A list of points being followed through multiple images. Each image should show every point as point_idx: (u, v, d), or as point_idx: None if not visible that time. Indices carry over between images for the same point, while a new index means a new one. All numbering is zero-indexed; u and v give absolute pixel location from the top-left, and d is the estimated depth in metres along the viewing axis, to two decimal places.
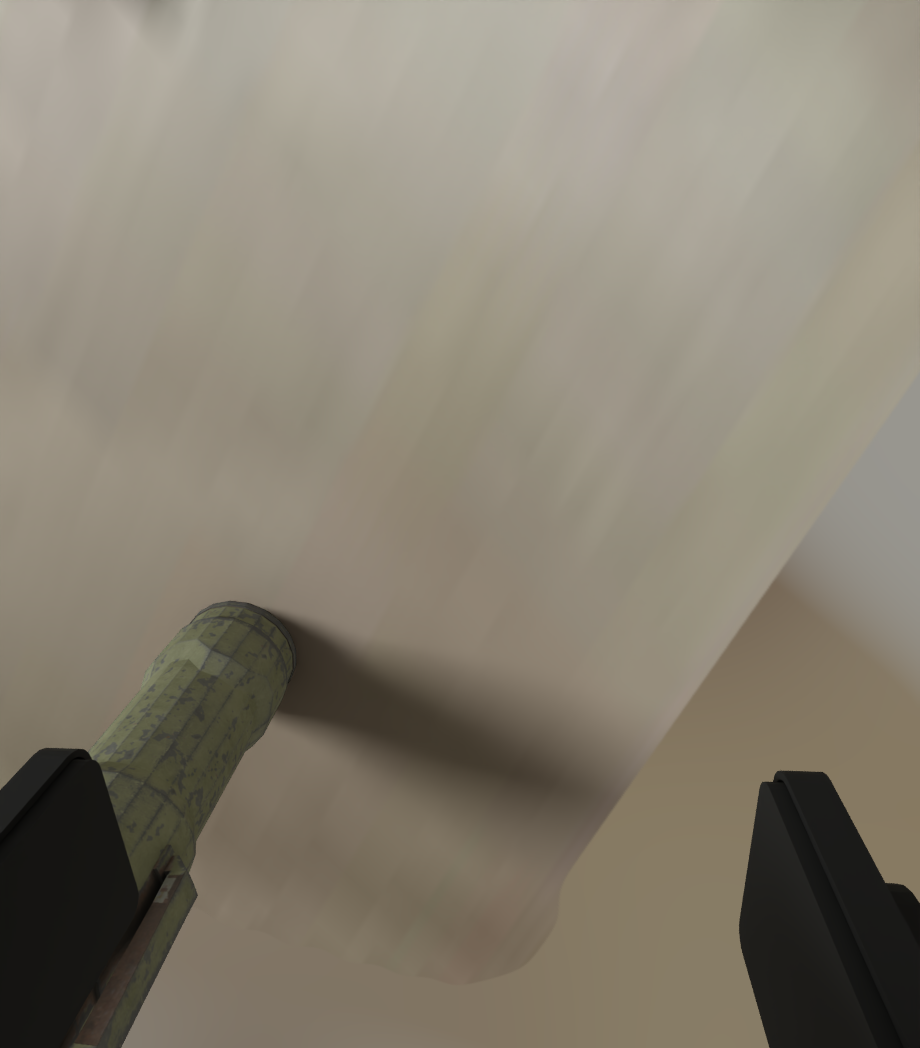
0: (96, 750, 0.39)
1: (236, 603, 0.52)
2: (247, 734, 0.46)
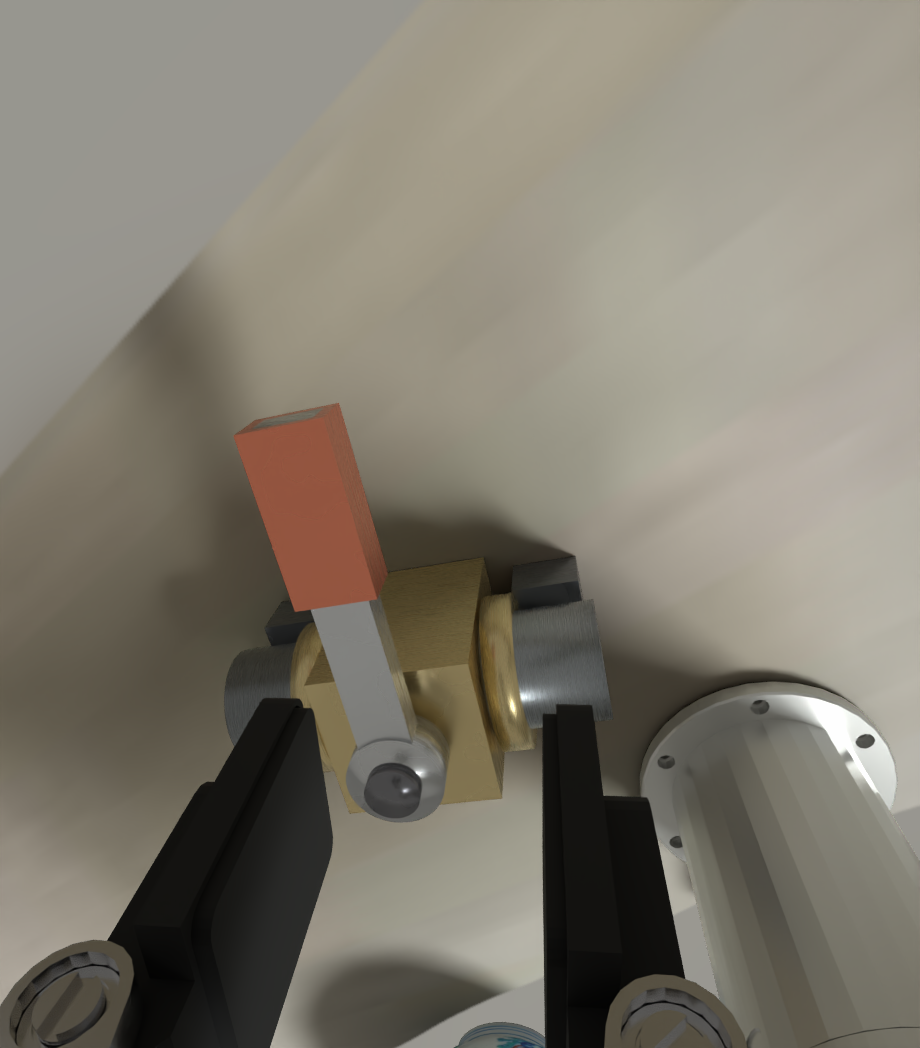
0: None
1: None
2: None
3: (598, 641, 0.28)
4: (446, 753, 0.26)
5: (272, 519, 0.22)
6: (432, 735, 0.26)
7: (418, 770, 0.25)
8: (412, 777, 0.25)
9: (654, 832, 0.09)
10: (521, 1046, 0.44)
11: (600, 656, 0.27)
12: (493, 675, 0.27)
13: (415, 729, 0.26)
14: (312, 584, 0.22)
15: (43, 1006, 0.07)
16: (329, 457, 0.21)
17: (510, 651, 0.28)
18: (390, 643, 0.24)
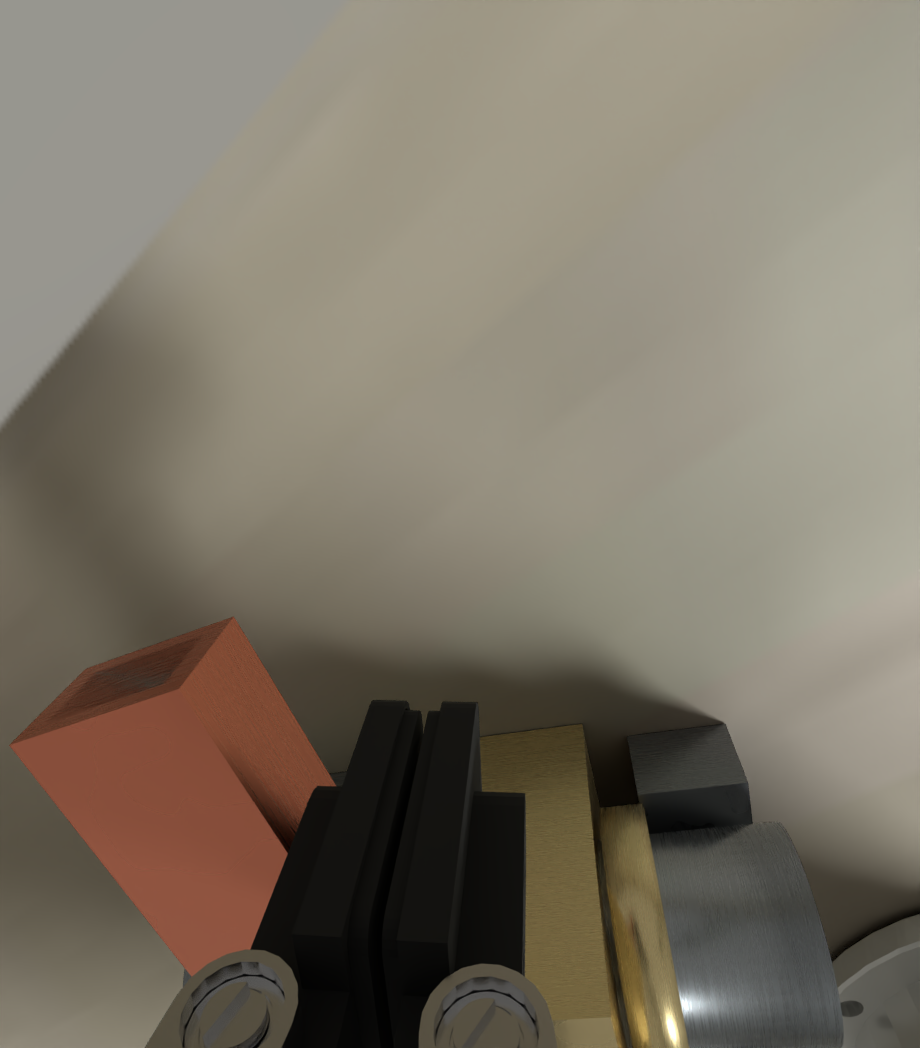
0: None
1: None
2: None
3: (822, 934, 0.16)
4: None
5: (137, 881, 0.10)
6: None
7: None
8: None
9: (524, 826, 0.09)
10: None
11: (829, 964, 0.16)
12: (643, 1002, 0.16)
13: None
14: None
15: (208, 1018, 0.07)
16: (216, 761, 0.09)
17: (670, 957, 0.16)
18: None
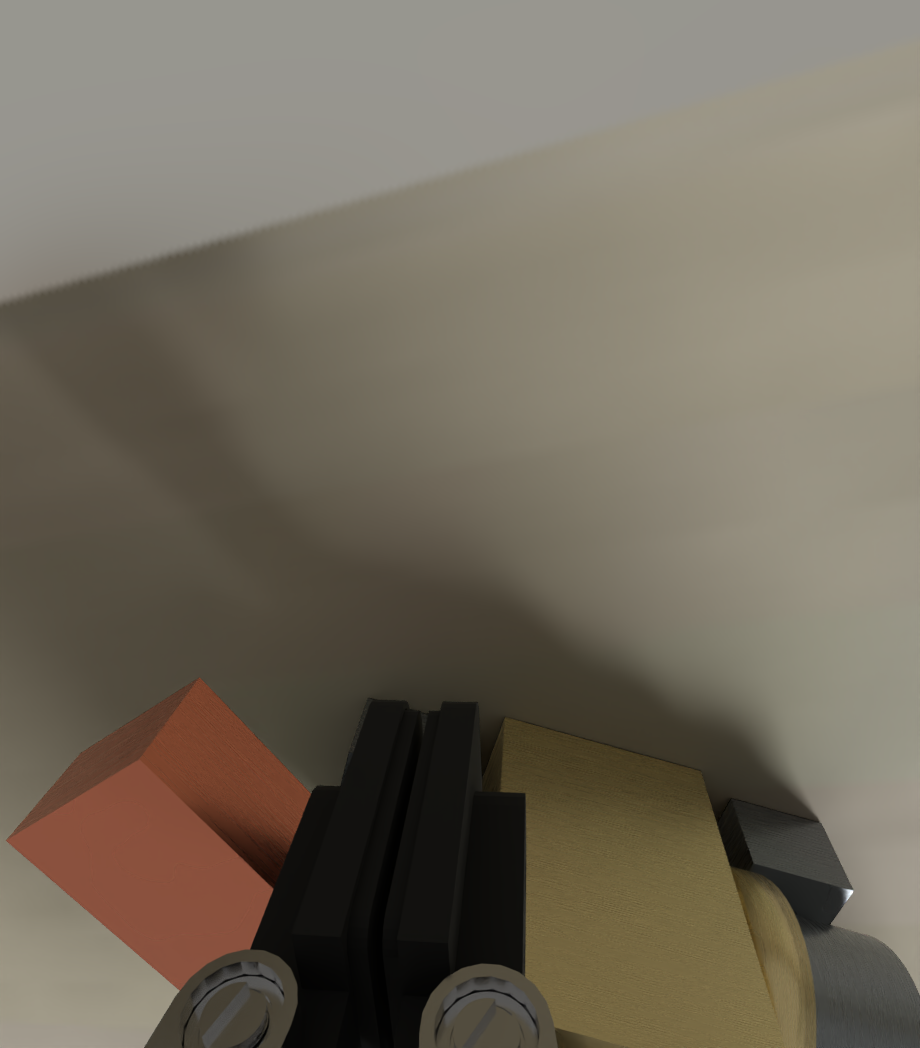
0: None
1: None
2: None
3: None
4: None
5: (157, 952, 0.11)
6: None
7: None
8: None
9: (524, 827, 0.09)
10: None
11: None
12: None
13: None
14: None
15: (208, 1019, 0.07)
16: (194, 823, 0.10)
17: (813, 1042, 0.16)
18: None
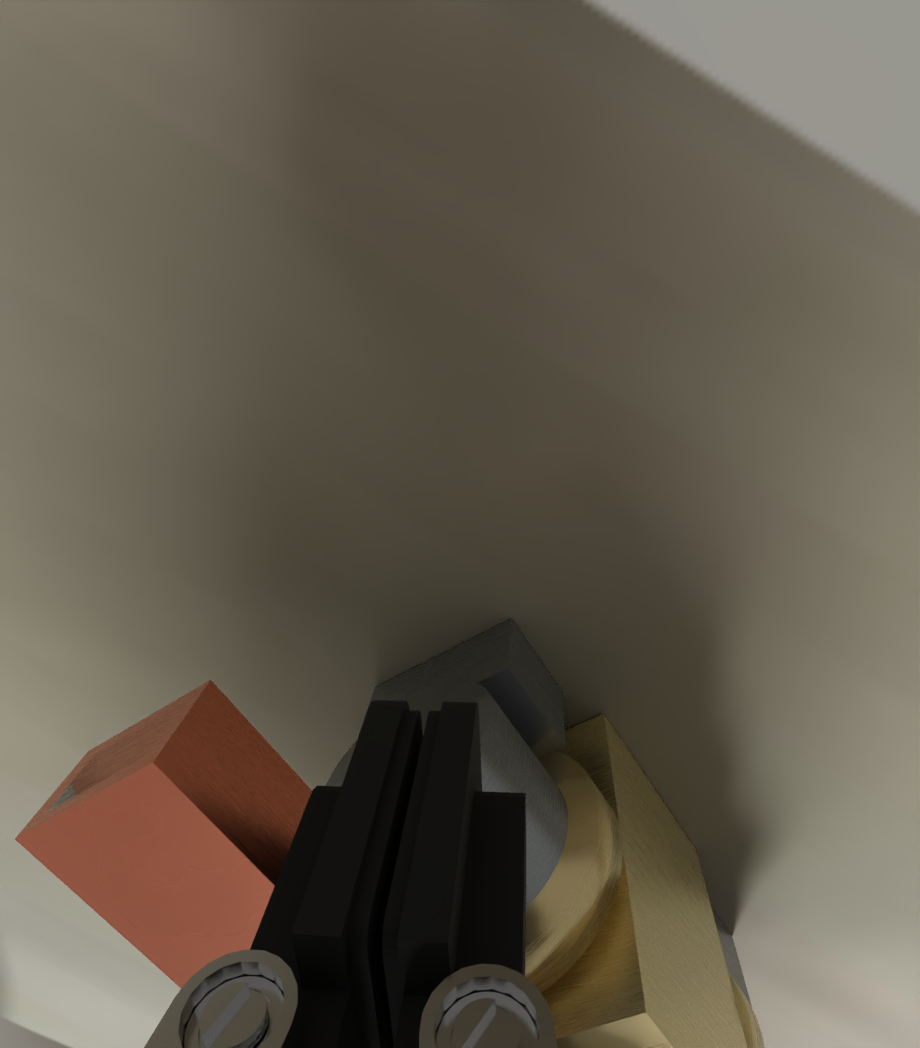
0: None
1: None
2: None
3: None
4: None
5: (162, 952, 0.11)
6: None
7: None
8: None
9: (524, 826, 0.09)
10: None
11: None
12: None
13: None
14: None
15: (208, 1018, 0.07)
16: (205, 826, 0.10)
17: None
18: None
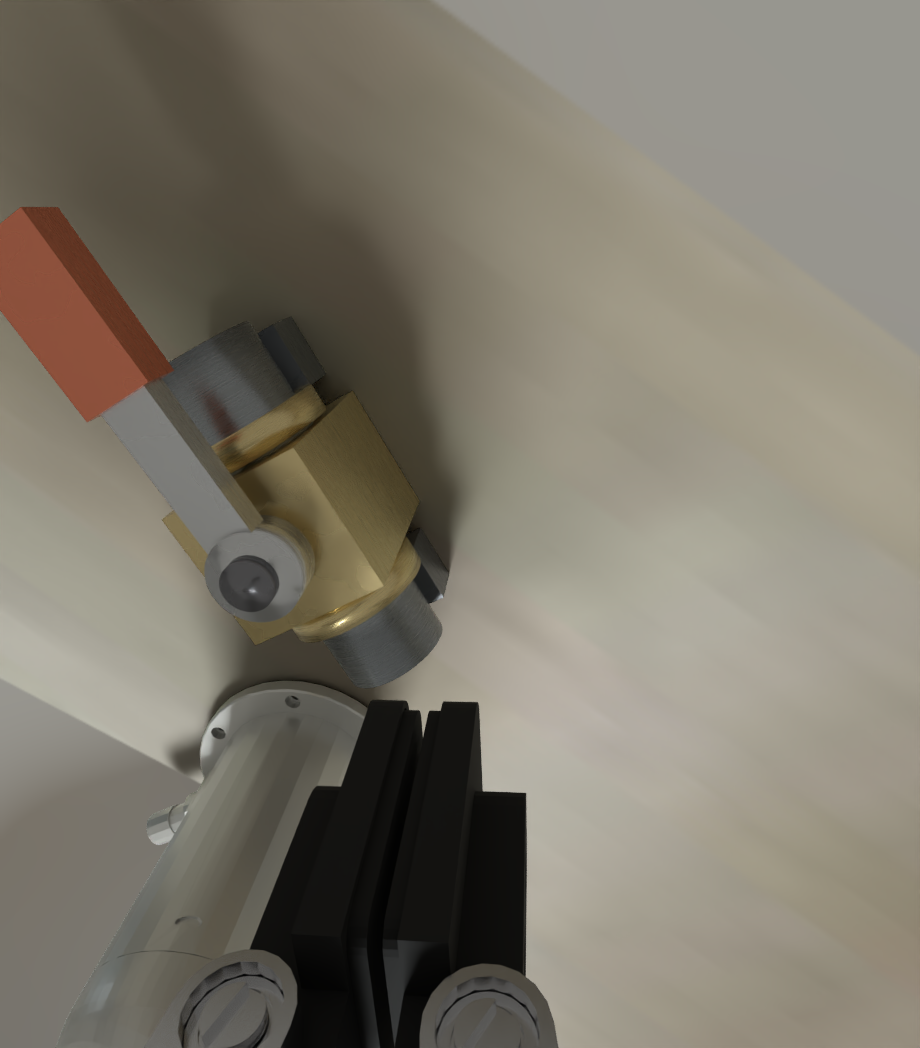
0: None
1: None
2: None
3: (424, 656, 0.32)
4: (300, 542, 0.26)
5: (27, 331, 0.23)
6: (279, 526, 0.26)
7: (265, 557, 0.25)
8: (259, 563, 0.25)
9: (524, 827, 0.09)
10: None
11: (415, 664, 0.32)
12: (368, 597, 0.30)
13: (258, 523, 0.26)
14: (88, 387, 0.23)
15: (207, 1018, 0.07)
16: (44, 247, 0.22)
17: (392, 599, 0.30)
18: (198, 437, 0.25)
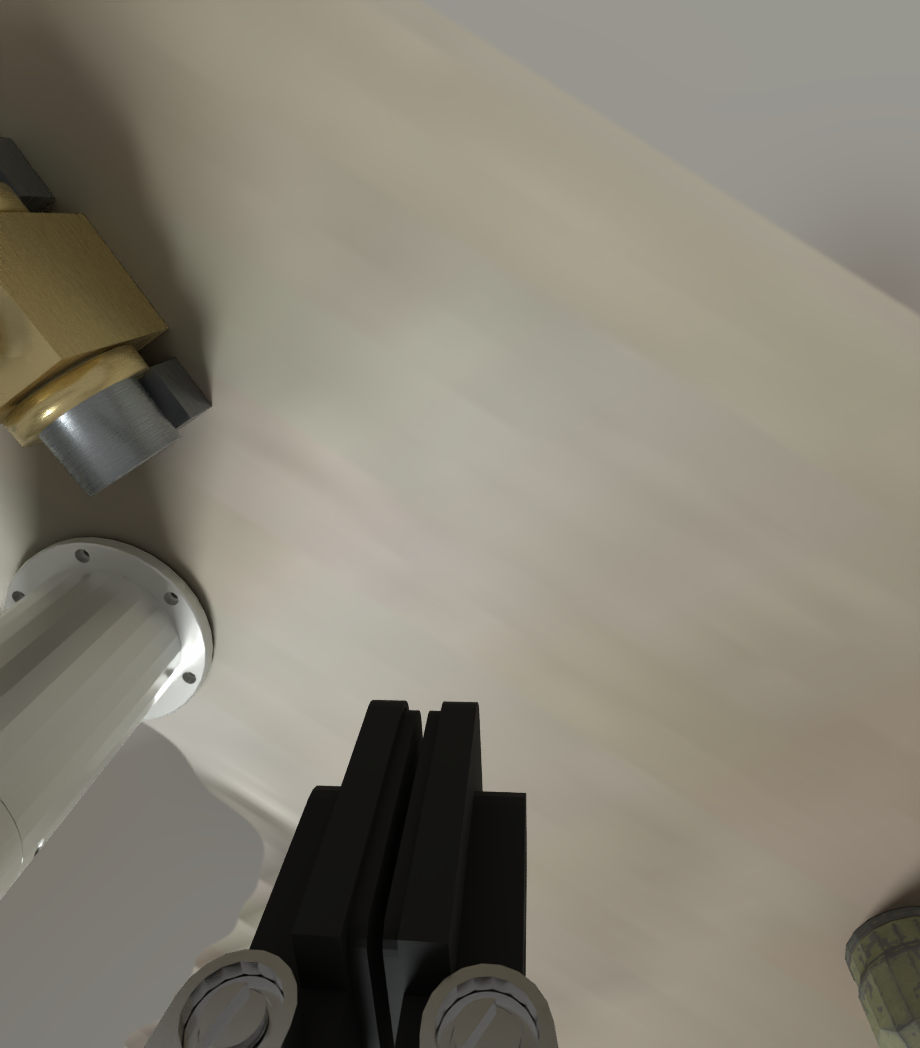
0: None
1: (851, 942, 0.48)
2: None
3: (147, 456, 0.32)
4: None
5: None
6: None
7: None
8: None
9: (525, 826, 0.09)
10: None
11: (135, 463, 0.32)
12: (65, 385, 0.30)
13: None
14: None
15: (207, 1018, 0.07)
16: None
17: (95, 390, 0.30)
18: None
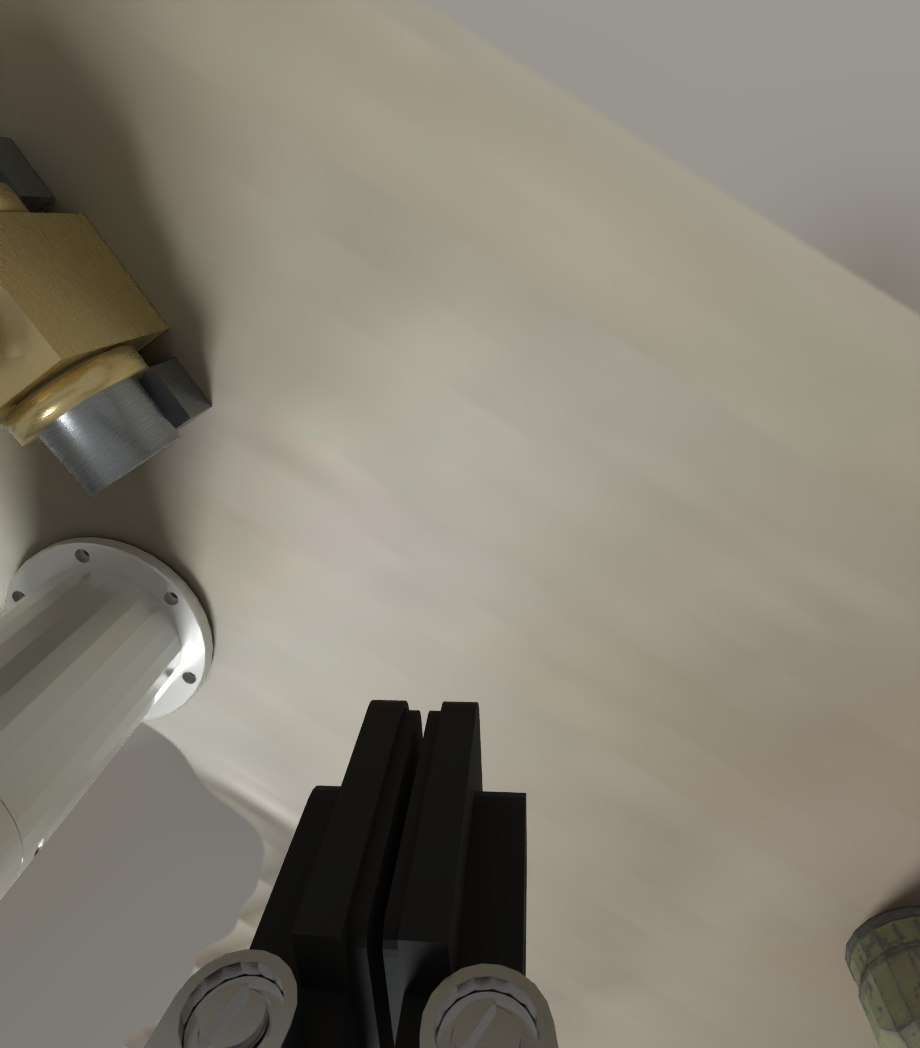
0: None
1: (851, 942, 0.48)
2: None
3: (146, 456, 0.32)
4: None
5: None
6: None
7: None
8: None
9: (525, 826, 0.09)
10: None
11: (135, 463, 0.32)
12: (65, 385, 0.30)
13: None
14: None
15: (207, 1018, 0.07)
16: None
17: (95, 390, 0.30)
18: None
